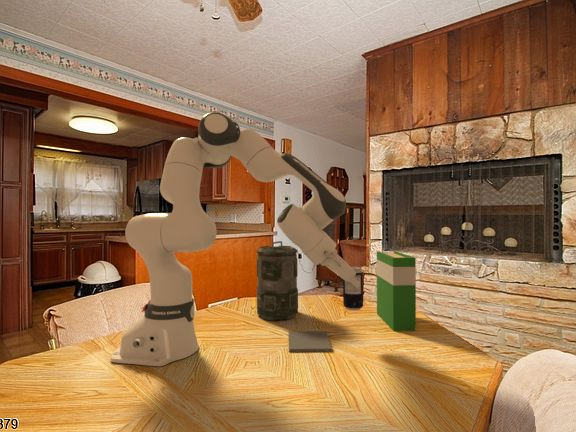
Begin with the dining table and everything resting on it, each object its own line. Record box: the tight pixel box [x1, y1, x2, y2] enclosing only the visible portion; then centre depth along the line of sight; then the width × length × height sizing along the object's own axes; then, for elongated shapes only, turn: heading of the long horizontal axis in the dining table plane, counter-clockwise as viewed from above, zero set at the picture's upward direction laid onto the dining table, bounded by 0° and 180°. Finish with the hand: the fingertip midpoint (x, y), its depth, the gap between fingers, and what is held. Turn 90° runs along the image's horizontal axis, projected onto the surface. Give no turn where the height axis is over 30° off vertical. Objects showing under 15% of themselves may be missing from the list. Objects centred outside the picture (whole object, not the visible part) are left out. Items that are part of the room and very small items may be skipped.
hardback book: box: [376, 250, 417, 332], centre depth 111 cm, size 18×7×24 cm, turn 1°
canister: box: [256, 240, 299, 321], centre depth 119 cm, size 16×16×28 cm
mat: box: [287, 330, 333, 353], centre depth 94 cm, size 12×13×1 cm
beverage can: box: [342, 266, 364, 312], centre depth 92 cm, size 6×6×12 cm
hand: (354, 283), depth 92 cm, fingers closed on beverage can, 6 cm apart
